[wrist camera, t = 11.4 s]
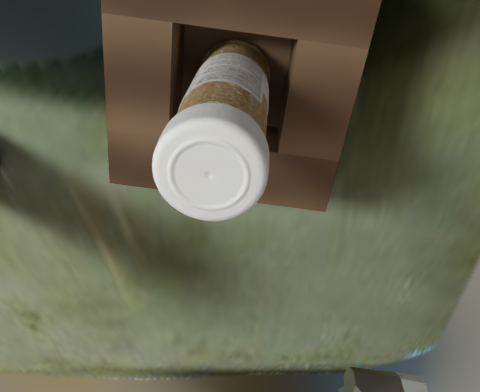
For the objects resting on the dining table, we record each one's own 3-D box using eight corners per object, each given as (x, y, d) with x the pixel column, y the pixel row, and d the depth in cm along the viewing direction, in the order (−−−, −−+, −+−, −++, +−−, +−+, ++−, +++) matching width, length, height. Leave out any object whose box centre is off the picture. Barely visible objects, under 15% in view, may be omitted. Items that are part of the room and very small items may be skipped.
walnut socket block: (127, -72, 25) (97, -70, 21) (370, -39, 25) (389, -30, 21) (131, 148, 33) (109, 182, 28) (318, 174, 33) (325, 211, 28)
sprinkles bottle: (249, 119, 30) (233, 242, 18) (187, 86, 29) (131, 195, 17) (284, 59, 27) (291, 156, 16) (219, 21, 27) (178, 97, 15)
